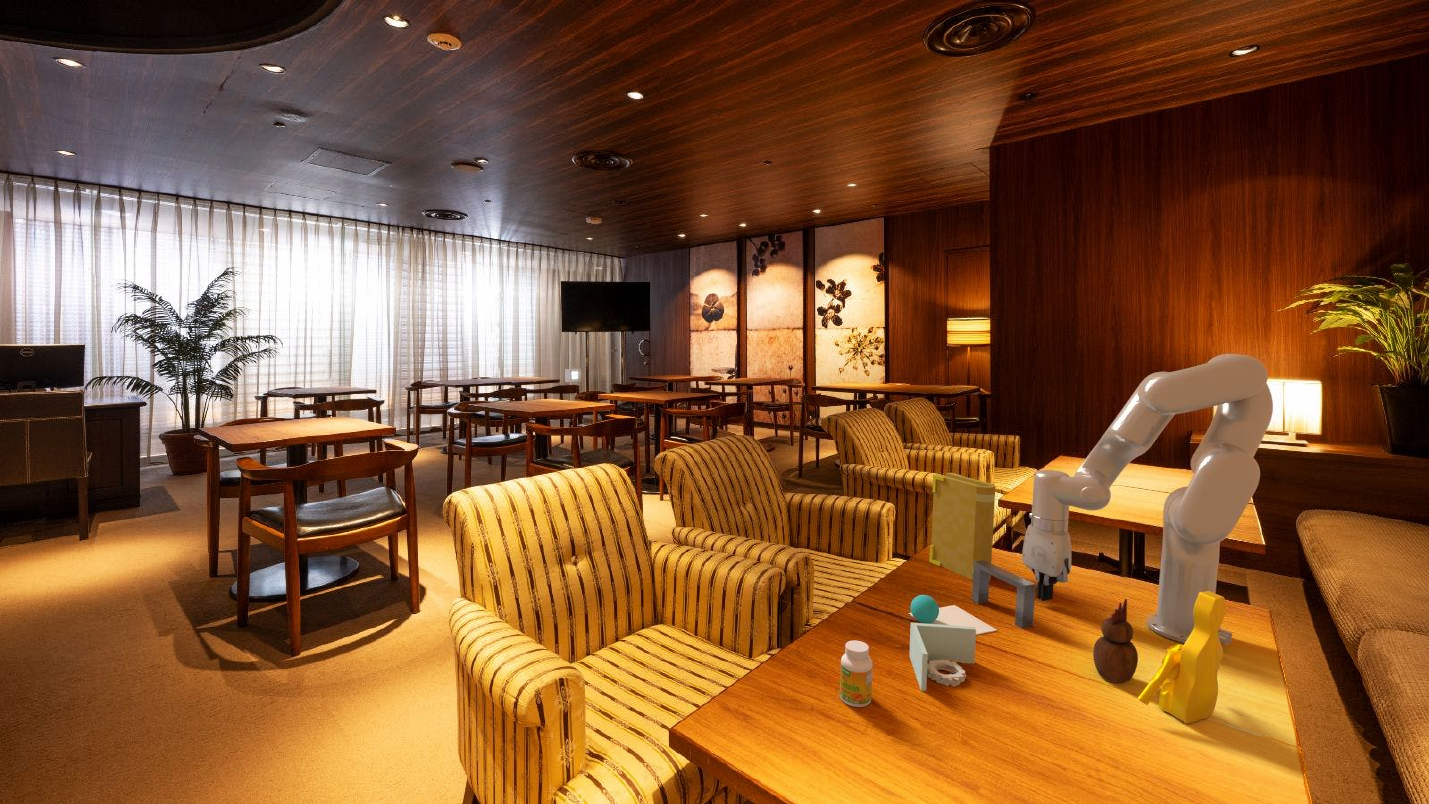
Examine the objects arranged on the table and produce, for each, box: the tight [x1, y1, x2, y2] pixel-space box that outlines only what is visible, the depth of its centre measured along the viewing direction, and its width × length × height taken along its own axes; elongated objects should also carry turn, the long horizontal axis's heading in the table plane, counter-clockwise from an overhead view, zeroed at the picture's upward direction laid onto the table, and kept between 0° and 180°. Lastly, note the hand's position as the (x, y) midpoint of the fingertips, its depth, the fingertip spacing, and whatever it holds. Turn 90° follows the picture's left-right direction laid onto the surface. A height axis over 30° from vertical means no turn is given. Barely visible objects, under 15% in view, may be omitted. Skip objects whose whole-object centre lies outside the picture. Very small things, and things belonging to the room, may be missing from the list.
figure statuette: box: [1137, 591, 1226, 724], centre depth 101 cm, size 18×8×22 cm, turn 110°
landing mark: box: [908, 604, 998, 636], centre depth 135 cm, size 13×13×1 cm
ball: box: [910, 594, 940, 623], centre depth 134 cm, size 6×6×6 cm
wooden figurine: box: [1092, 598, 1139, 684], centre depth 112 cm, size 7×6×15 cm
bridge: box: [971, 560, 1036, 630], centre depth 139 cm, size 3×15×10 cm, turn 19°
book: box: [928, 472, 996, 582], centre depth 164 cm, size 17×7×25 cm, turn 25°
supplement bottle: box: [839, 640, 874, 708], centre depth 105 cm, size 5×5×10 cm
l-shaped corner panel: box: [909, 622, 977, 692], centre depth 113 cm, size 12×12×8 cm
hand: (1044, 598), depth 143 cm, fingers closed
